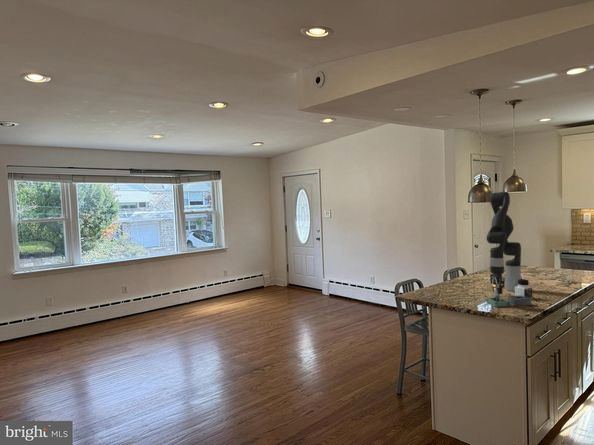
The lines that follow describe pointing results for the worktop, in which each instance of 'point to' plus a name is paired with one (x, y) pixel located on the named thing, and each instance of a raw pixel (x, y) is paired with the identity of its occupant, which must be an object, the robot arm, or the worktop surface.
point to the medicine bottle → (523, 288)
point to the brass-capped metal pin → (496, 293)
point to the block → (519, 300)
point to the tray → (498, 304)
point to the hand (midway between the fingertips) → (497, 292)
